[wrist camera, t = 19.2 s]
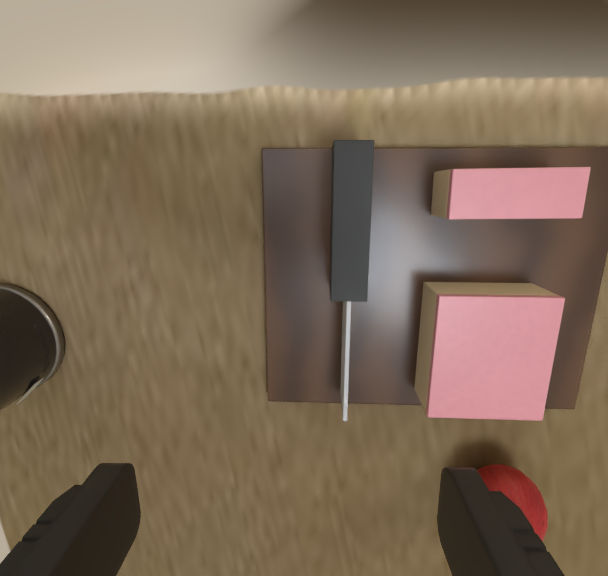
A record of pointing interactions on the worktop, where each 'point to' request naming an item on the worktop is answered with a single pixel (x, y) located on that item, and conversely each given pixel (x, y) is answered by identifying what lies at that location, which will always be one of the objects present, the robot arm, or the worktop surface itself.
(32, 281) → the worktop surface
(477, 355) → the cake
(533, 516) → the onion
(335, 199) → the knife
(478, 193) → the pink and tan block
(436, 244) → the cake board
